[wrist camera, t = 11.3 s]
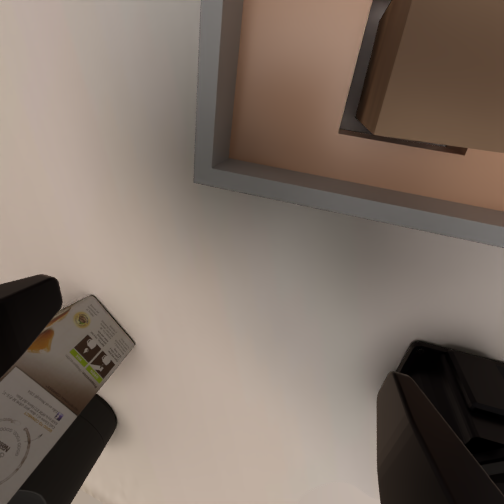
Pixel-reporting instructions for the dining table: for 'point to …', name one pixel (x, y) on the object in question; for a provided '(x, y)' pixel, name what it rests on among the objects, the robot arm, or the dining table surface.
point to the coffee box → (54, 386)
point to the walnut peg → (438, 74)
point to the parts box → (323, 125)
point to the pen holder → (70, 458)
